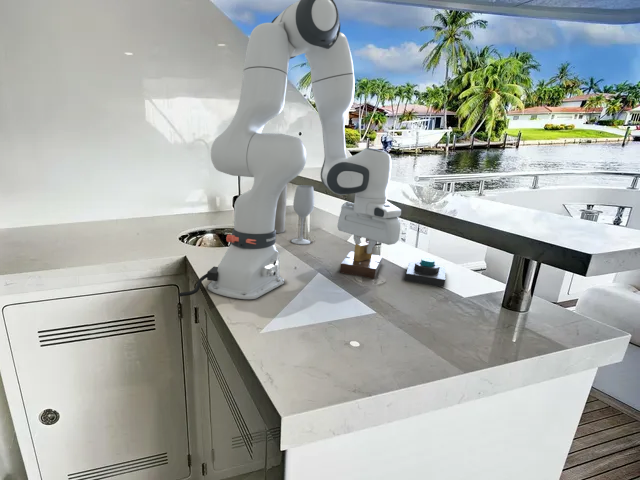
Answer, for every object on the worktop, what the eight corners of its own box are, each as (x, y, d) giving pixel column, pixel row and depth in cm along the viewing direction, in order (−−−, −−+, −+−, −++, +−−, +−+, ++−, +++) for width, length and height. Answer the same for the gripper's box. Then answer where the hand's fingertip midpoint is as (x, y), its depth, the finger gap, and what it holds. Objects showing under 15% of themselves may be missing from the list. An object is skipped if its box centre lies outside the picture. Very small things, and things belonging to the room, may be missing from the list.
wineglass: (312, 244, 142) (317, 188, 135) (291, 244, 142) (295, 187, 135) (309, 239, 149) (313, 185, 142) (289, 238, 149) (293, 184, 142)
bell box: (443, 287, 105) (446, 273, 103) (405, 280, 109) (407, 267, 107) (443, 273, 115) (446, 261, 113) (408, 268, 119) (410, 256, 118)
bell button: (433, 268, 108) (435, 262, 108) (420, 266, 110) (421, 260, 109) (434, 264, 111) (435, 259, 111) (420, 262, 113) (421, 257, 112)
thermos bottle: (261, 230, 160) (264, 162, 151) (272, 227, 166) (276, 161, 157) (277, 234, 156) (281, 163, 146) (288, 230, 161) (292, 162, 152)
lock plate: (374, 278, 110) (376, 268, 108) (339, 272, 114) (340, 262, 113) (381, 265, 121) (382, 255, 120) (349, 259, 126) (350, 250, 125)
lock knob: (358, 261, 114) (360, 245, 112) (353, 260, 116) (355, 243, 114) (371, 258, 117) (373, 242, 116) (366, 257, 119) (368, 240, 117)
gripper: (335, 201, 118) (330, 244, 122) (392, 213, 102) (384, 262, 106) (349, 200, 121) (344, 241, 125) (406, 211, 105) (398, 259, 109)
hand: (363, 251), depth 116 cm, fingers closed on lock knob, 2 cm apart
